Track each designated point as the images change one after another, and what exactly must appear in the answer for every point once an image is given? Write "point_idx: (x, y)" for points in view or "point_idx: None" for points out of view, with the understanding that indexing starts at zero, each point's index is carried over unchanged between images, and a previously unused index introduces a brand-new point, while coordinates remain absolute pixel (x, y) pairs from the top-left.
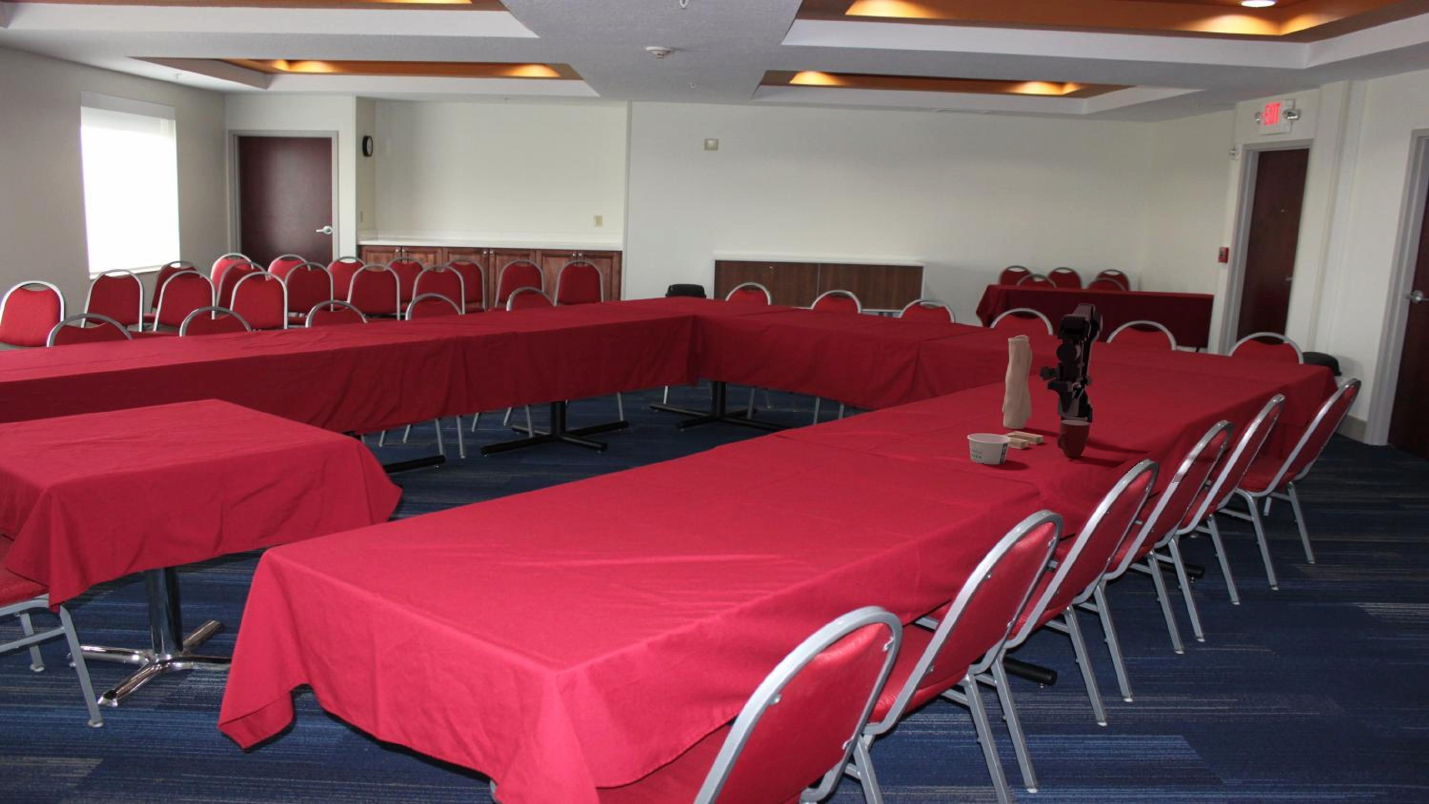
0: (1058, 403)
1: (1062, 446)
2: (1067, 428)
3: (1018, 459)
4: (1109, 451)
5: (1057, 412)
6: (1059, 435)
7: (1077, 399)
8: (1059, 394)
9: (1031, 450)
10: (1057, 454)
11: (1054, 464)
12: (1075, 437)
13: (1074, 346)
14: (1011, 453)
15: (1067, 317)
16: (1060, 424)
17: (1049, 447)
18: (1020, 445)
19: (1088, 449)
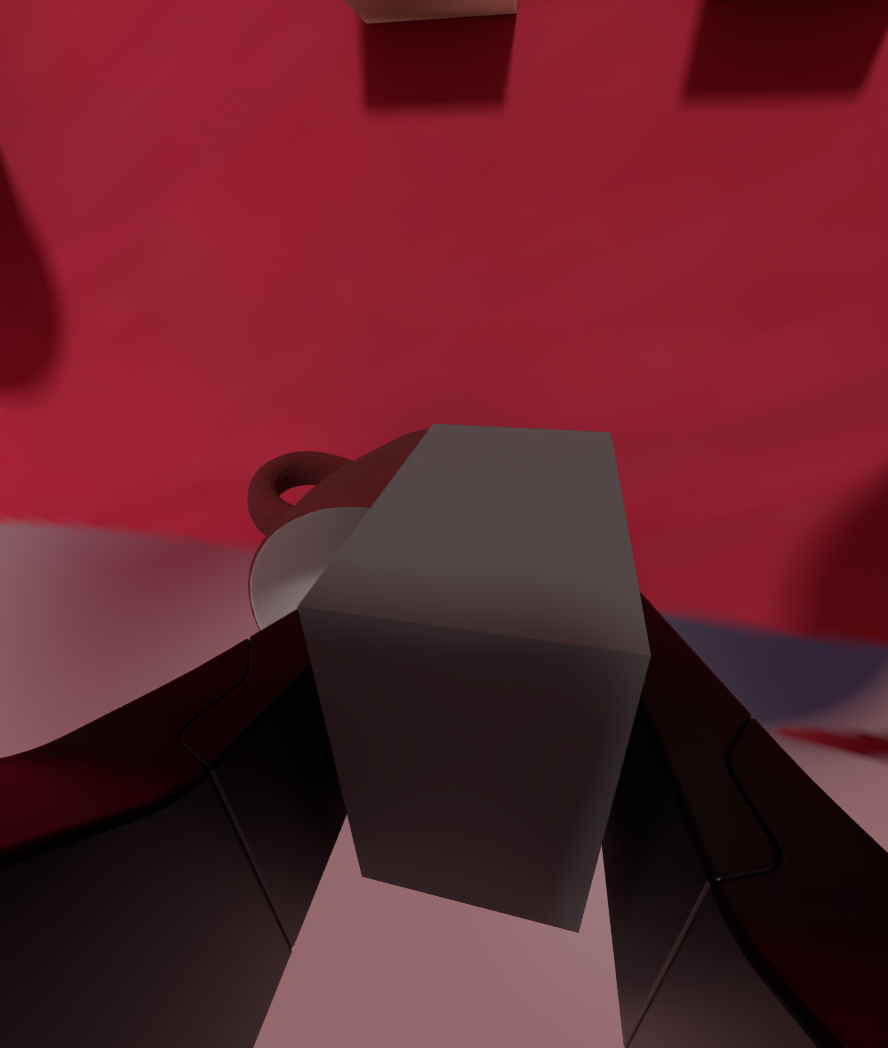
0: (365, 528)
1: (307, 484)
2: (271, 574)
3: (94, 243)
4: (784, 611)
5: (421, 442)
6: (249, 497)
7: (482, 905)
8: (19, 778)
9: (407, 147)
10: (436, 384)
11: (200, 467)
12: None
13: None
14: (172, 73)
15: None
16: (299, 504)
17: (650, 212)
18: (352, 5)
19: (772, 495)
